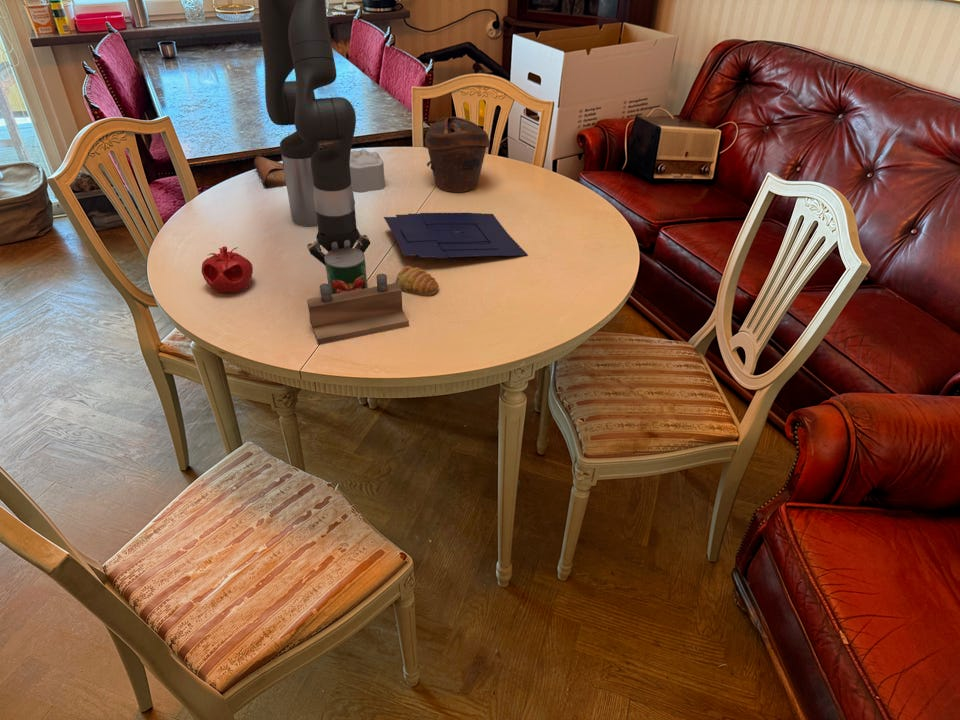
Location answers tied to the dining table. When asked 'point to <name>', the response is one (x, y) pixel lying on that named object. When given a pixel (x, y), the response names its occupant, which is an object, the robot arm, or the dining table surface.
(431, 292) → the pastry
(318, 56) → the robot arm
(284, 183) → the sunglasses case
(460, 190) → the case
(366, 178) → the lumpy-topped squat cylinder
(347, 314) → the bench stop
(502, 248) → the navy folded cloth
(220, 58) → the dining table surface
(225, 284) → the pomegranate
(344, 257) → the canned tomato
